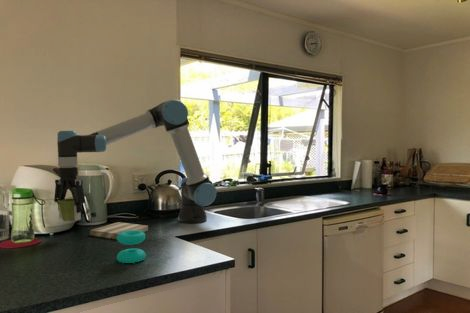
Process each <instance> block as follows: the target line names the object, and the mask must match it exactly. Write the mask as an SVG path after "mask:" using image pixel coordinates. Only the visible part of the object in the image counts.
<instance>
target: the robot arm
mask: <svg viewBox="0 0 470 313" xmlns="http://www.w3.org/2000/svg"><path fill="white" fill-rule="evenodd" d="M188 116H189V110H188V108H187V105H186V104H185V103H184V102H182V101H181V100H179V99H169V100H166V101H164V102H161V103H159V104H158V105H157V104H156V106H153V107H152V108H149V109H147V110H146V111H145V112H144V113H143V114H139V115H138V116H134V117H132V118H129V119H127V120H123V121H121V122H118V123H116V124H113V125H110V126H108V127H105V128H102V129H100V130H98V131H96V132H92V133H89V134H84V135H83V134H77V131H76V130H60V131H58V132H57V141H56V142H57V143H56V144H57V161H58V162H57V163H58V164H57V165H58V176H59V177H60V178H59V179H58V178H57V179H55V180H54V183H55V189H54V197H53V201H54V203H57V205H58V206H57V207H58V208H57V209H58V217H59V220H63V218H62V213H61V208H60V205H59V202H58V200H64V199H66V195H67V193H68V190H69V191H70V192H71V196H72V198H73V199H74V201H75V205H74V219H75V220H74V221H75V222H77V221H80V220H81V219H82V217H81V216H82V215H81V214H82V213H81V212H82V205H83V204H86V199H85V193H84V188H83V180H82V179H80V180H79V179H77V176H78V174H79V170H78V167H77V166H78V153H103V152H106V151H107V150H106V149H107V146H108V145H110V144H113V143H115V142H118V141H120V140H123V139H125V138H128V137H131V136H133V135H136V134H138V133H141V132H144V131H146V130H148V129H151V128H152V129H156V128H158V127H164V129H165V130H166V132H167V133H168V134H170V136H171V139H172V140H173V143H174V146H175V149H176V151H177V154H178V157H179V161H180V164H181V165H182V167H183V170H184V174H185V176H186V177H184V178H182V179H181V184H180V190H181V192H180V193H181V206H180V210H179V213H178V216H177V217H178V218H177V222H179V223H183V224H200V223H205V222H206V221H207V218H208V216H207V212H206V211H205V207H206V206H210V205H212V203H213V202H214V201H215V200H216V197H217V189H216V186H215V185H214V184H213V183H211V180H210V177H209V175H208V174H206V173H205V172H204V170H203V167H202V165H201V161H200V159H199V156H198V152H197V151H196V148H195V145H194V142H193V139H192V136H191V133H190V131H189V129H188V128H189V125H190V121H189V119H188Z"/></svg>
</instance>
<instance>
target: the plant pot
mask: <svg viewBox="0 0 470 313" xmlns="http://www.w3.org/2000/svg"><path fill="white" fill-rule="evenodd" d="M58 202H59V205H60V208H61V213H62V218H63V219H62V221H63V222H68V221H71V222H73V221H75V219H74V205H75V201H74V199H73V197H72V198H65V199H64V200H58Z"/></svg>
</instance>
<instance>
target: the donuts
mask: <svg viewBox="0 0 470 313" xmlns="http://www.w3.org/2000/svg"><path fill="white" fill-rule="evenodd" d="M145 239H146V232H142V231H138V230H130V231H124V232H121V233H119V234H118V235H117V239H116V241H117V242H118V243H120V244H122V245H127V246H129V245H130V246H131V245H133V246H134V245H137V244H141V243H142V242H144V241H145ZM146 256H147V255H146V252H145V251H144V250H143V249H142V248H141V249H140V248H126V249H123V250H121V251H119V252H118V253H117V255H116V260H117V262H119V263H121V262H122V263H121V264H124V263H133V264H136V263H135V262H138V263H140V262H139V261H141V262H143V261H144V260H145V259H146ZM142 260H143V261H142Z"/></svg>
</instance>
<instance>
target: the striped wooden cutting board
mask: <svg viewBox="0 0 470 313" xmlns="http://www.w3.org/2000/svg"><path fill="white" fill-rule="evenodd" d="M130 230H138V231H142V232H144V233H146V231H147V232H148V231H149V225H145V224H139V223H138V224H136V223H129V222H121V221H119V222H118V221H117V222H114V223H110V224H107V225H104V226H99V227H97V228H93V229H90V232H89V234H90V236H94V237H99V238H105V239H111V238H112V240H117V235H118V234H119V233H121V232H124V231H130Z"/></svg>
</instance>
